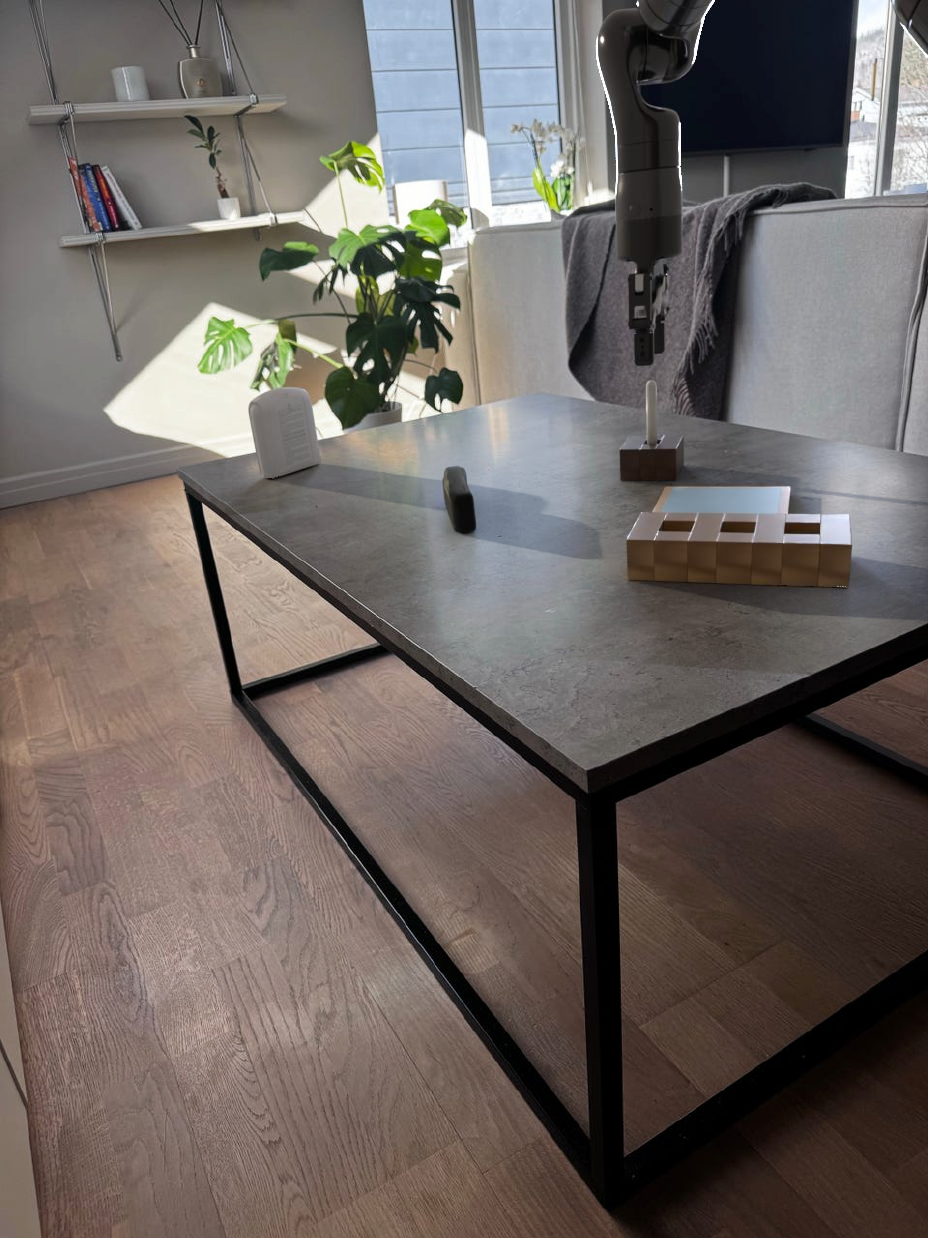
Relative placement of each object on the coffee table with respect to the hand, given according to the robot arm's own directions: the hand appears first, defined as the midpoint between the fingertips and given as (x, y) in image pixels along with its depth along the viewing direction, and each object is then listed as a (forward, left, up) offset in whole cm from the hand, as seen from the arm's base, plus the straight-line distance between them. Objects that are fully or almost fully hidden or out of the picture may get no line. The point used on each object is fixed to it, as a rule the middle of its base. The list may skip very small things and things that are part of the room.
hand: (650, 359), depth 108 cm
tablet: (-10, +18, -14) cm, 25 cm away
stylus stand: (0, 0, -14) cm, 14 cm away
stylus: (0, 0, -14) cm, 14 cm away
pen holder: (-13, +32, -14) cm, 37 cm away
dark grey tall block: (+20, +18, -15) cm, 31 cm away
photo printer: (+55, -2, -15) cm, 57 cm away
